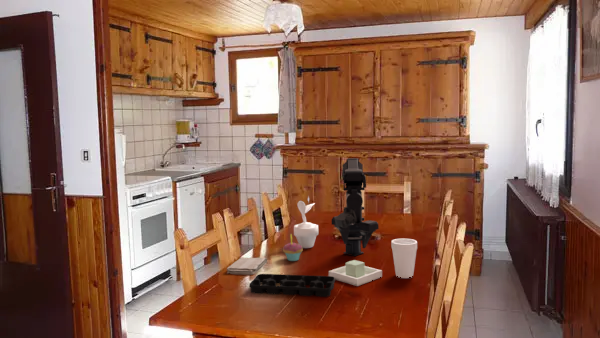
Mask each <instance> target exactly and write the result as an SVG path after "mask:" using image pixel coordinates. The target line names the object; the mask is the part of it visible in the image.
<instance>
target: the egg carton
mask: <svg viewBox="0 0 600 338" xmlns="http://www.w3.org/2000/svg"><path fill="white" fill-rule="evenodd" d="M335 281H336V280H335V278H334V277H332V276H329V275H327V276H326V275H304V274H303V275H302V274H277V273H276V274H275V273H259V274H257V275H256V276H255V277H254V279H253V280H252V281H250V282H249V288H250V291H251V293H253V294H259V295H260V294H265V293H266V294H267V295H279V294H281V293H282V294H283V295H287V296H296V295H299V296H301V297H302V296H303V297H312V296H313V295H315V296H316V297H319V298H320V297H322V298H328V297H330V296H331V293H332V291H333V290H334V288H335V283H336V282H335ZM277 284H279V285H277ZM308 286H309V287H308Z"/></svg>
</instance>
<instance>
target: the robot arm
mask: <svg viewBox="0 0 600 338" xmlns="http://www.w3.org/2000/svg"><path fill="white" fill-rule="evenodd" d="M359 159H360V158H356V157H353V158H352V157H350V158H346V161H345V162H344V163H342V166H341V167H342V178H343V182H342V183H343V185H342V186H343V188H342V189H343V191H346V192H345V202H346V205H345V206H346V207H343V210H342V211H343V212H341V213H340V214H338V215H336V216H333V217H332V218H331V225H332V226H333V227H334V228H336V229H337V230H338V231H339V234H340V236H341V239H342V241H343V244H344V245H345V251H343V254H344V255H349V256H353V257H355V256H358V255H363V254H365V253H364V251H361V250H362V249H365V248H367V245H368V244H369V240H370V239H371V237H372V235H373V233H374V232H376V231H377V230H379V229H380V228H379V223H378V222H377V221H376V220H370V219H369V220H365V217H363V211H364V210H365V206H363V202H364V199H363V192H362V191H366V190H365V189H366V188H367V177H366V174H365V173H364V168H363V167H364V166H363V163H362V162H360V160H359ZM361 246H362V247H361Z"/></svg>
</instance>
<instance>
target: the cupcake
mask: <svg viewBox="0 0 600 338" xmlns="http://www.w3.org/2000/svg"><path fill="white" fill-rule="evenodd" d="M289 237H290V242H288V243H286V244H285V245H284V246H283V247H282V252H283V253H284V255H285V256H286V260H288V261H290V262H296V261H299V259H300V257H301V254H302V252H303V249H304V248H303V247H302V246H301V245H299V243H298V242H293V234H292V233H290V236H289Z"/></svg>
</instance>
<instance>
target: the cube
mask: <svg viewBox="0 0 600 338" xmlns="http://www.w3.org/2000/svg"><path fill="white" fill-rule="evenodd" d="M365 263H366V262H363V261H360V260H356V259H353V260H349V261H347V262H345V265H344V266H346V275H348V276H352V277H355V278H358V277H361V276H364V275H365V266H366V265H365Z"/></svg>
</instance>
